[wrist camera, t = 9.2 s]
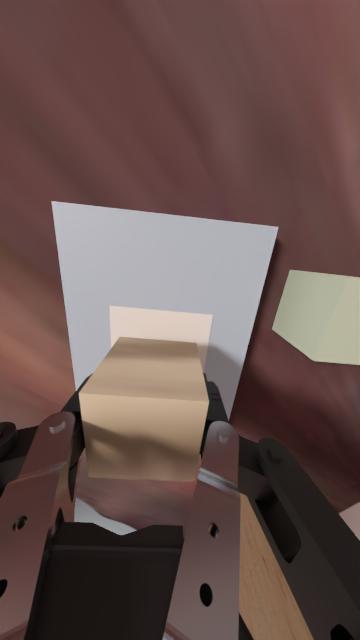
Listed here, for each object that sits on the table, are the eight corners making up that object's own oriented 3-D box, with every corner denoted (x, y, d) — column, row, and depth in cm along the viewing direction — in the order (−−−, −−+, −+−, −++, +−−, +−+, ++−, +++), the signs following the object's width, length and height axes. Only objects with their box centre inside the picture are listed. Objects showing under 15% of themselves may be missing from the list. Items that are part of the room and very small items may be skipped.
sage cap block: (289, 269, 14) (348, 276, 9) (350, 276, 14) (439, 286, 9) (271, 328, 15) (313, 360, 11) (326, 333, 16) (390, 367, 11)
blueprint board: (66, 207, 12) (51, 200, 10) (267, 230, 13) (278, 226, 11) (89, 424, 19) (81, 438, 17) (219, 432, 19) (222, 446, 18)
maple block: (119, 336, 11) (78, 393, 7) (196, 342, 12) (209, 401, 7) (121, 397, 13) (89, 477, 8) (187, 401, 13) (193, 481, 9)
